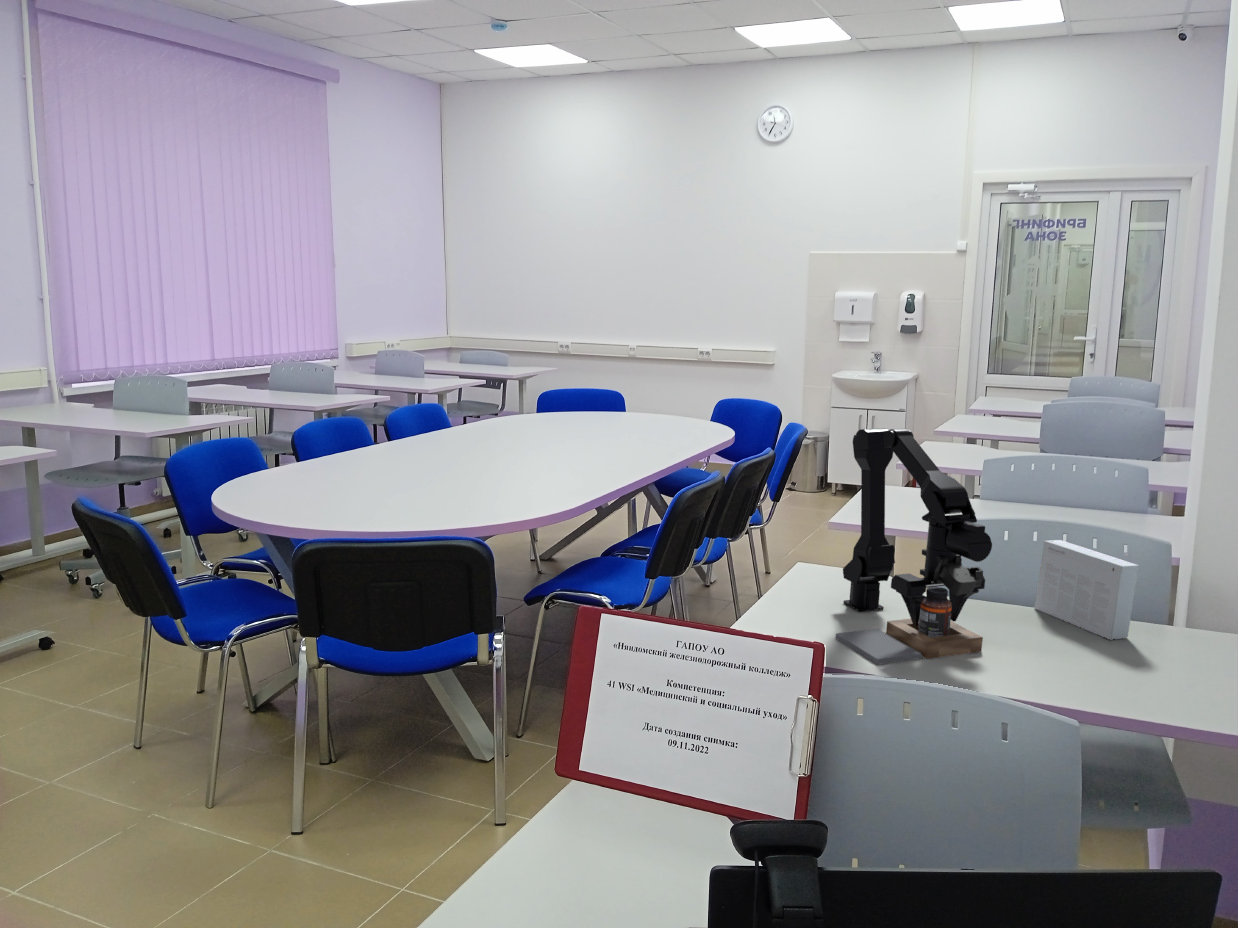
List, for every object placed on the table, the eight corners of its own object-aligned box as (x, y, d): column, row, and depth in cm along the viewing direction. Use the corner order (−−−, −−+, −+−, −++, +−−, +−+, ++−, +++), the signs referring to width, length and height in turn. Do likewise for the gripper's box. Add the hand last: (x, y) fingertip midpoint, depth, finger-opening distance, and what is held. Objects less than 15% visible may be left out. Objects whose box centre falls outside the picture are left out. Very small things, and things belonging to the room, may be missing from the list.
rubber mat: (835, 638, 197) (835, 633, 197) (877, 633, 200) (877, 628, 200) (877, 664, 184) (877, 659, 184) (920, 658, 188) (921, 653, 187)
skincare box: (1130, 638, 202) (1140, 564, 199) (1110, 641, 200) (1120, 566, 197) (1051, 606, 221) (1059, 538, 218) (1033, 608, 219) (1041, 539, 216)
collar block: (885, 635, 199) (887, 621, 199) (937, 628, 204) (939, 615, 204) (926, 658, 188) (928, 643, 187) (981, 651, 192) (982, 636, 192)
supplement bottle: (942, 638, 199) (947, 584, 197) (952, 649, 193) (958, 594, 191) (913, 637, 199) (918, 584, 196) (922, 648, 193) (928, 593, 191)
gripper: (929, 562, 181) (921, 642, 184) (1009, 555, 188) (1000, 632, 191) (892, 546, 192) (885, 622, 195) (969, 540, 198) (961, 613, 201)
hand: (934, 622), depth 195 cm, fingers open, 9 cm apart
